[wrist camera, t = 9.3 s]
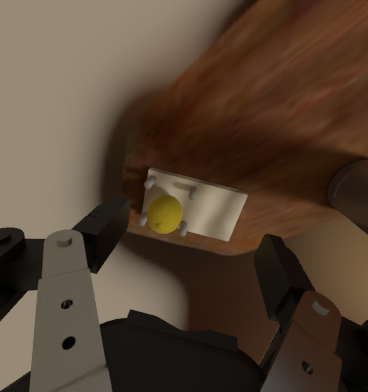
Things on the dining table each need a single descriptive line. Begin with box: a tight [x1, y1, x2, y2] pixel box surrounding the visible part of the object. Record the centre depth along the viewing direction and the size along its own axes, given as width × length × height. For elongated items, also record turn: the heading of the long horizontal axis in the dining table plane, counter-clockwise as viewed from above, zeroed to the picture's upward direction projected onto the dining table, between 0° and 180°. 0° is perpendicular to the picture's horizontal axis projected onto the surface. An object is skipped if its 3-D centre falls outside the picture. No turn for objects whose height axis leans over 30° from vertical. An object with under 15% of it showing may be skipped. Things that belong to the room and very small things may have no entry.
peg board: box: [138, 167, 248, 241], centre depth 34 cm, size 17×10×4 cm, turn 77°
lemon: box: [147, 195, 183, 234], centre depth 31 cm, size 6×6×8 cm
